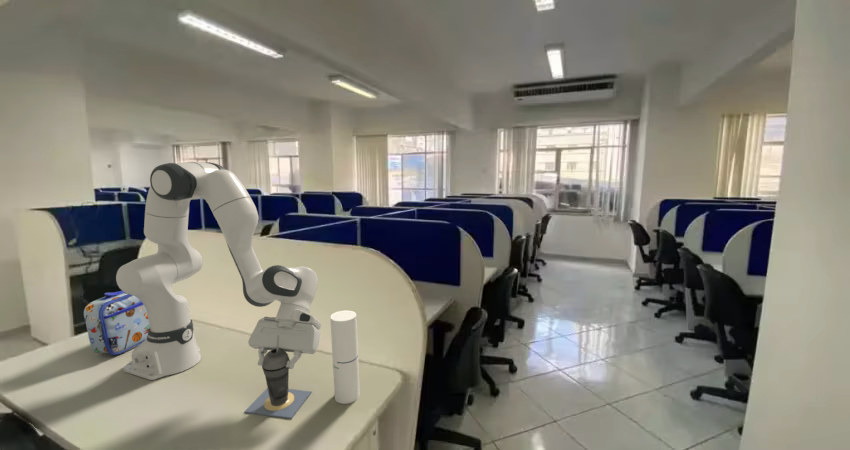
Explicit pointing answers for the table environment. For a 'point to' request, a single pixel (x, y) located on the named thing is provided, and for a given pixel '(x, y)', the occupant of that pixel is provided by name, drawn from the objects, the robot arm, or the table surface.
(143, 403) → the table surface
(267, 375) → the beverage cup
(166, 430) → the table surface
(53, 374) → the table surface
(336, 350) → the cylindrical container
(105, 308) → the lunch box
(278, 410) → the card
